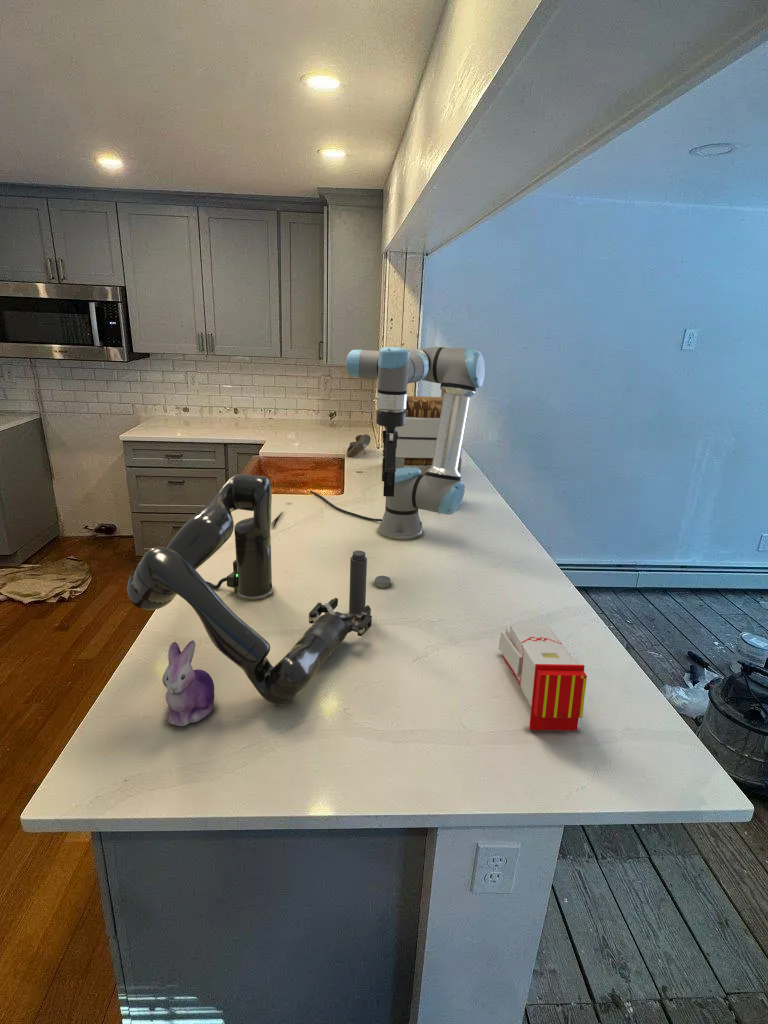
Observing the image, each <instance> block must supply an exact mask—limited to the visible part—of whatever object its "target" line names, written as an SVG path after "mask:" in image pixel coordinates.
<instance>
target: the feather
mask: <svg viewBox="0 0 768 1024" xmlns="http://www.w3.org/2000/svg"><path fill="white" fill-rule="evenodd" d="M282 514H283V512H280V514H279V515H278V516H277V517H275V519H274V520H273V521H271V525H273V529H274V528H275V526H276V524H277V523H278V521H279V520H280V518H281V516H282Z"/></svg>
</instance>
